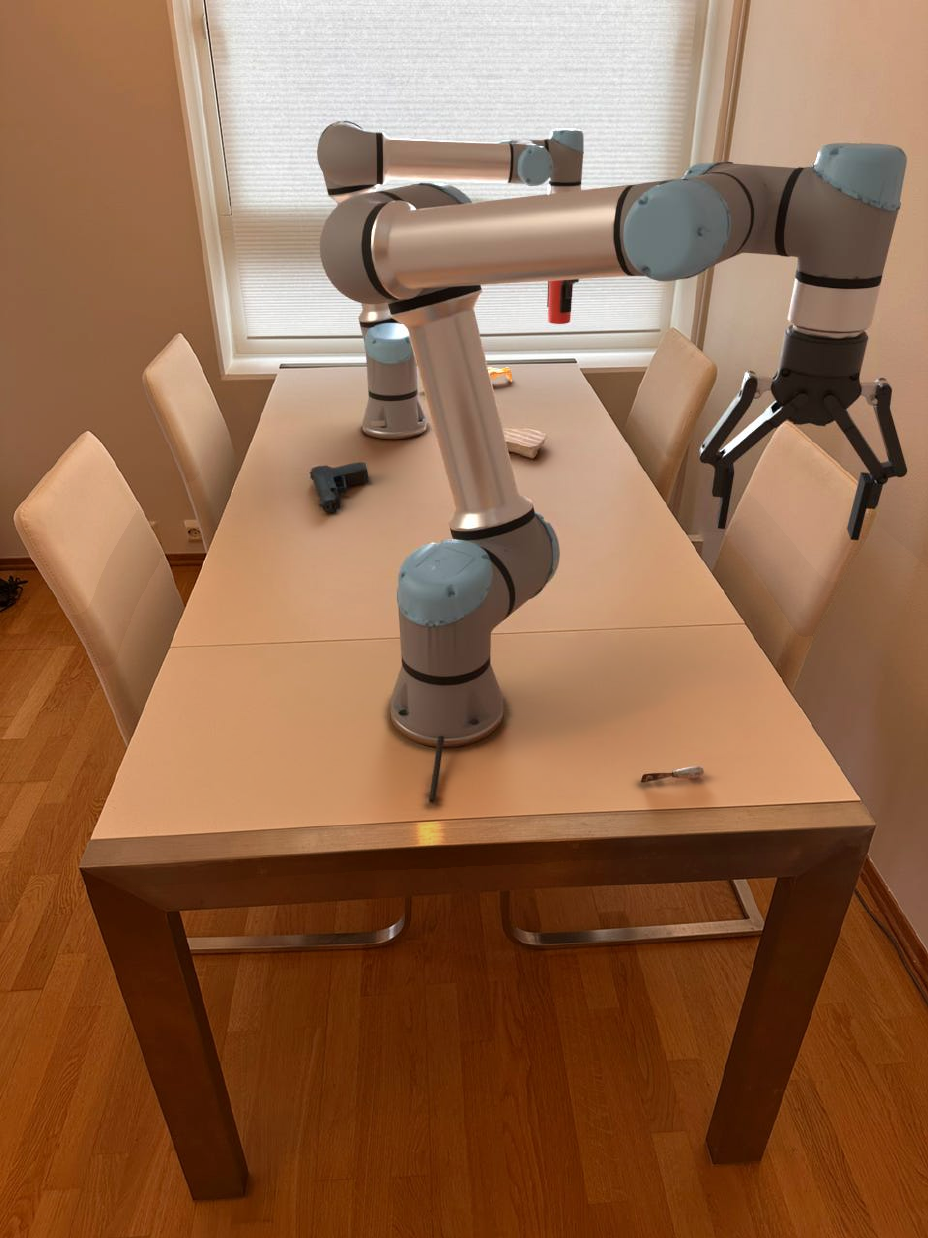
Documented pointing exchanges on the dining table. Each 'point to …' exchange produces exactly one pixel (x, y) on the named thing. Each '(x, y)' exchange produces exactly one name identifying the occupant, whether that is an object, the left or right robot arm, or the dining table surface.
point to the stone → (524, 441)
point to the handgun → (336, 482)
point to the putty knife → (674, 774)
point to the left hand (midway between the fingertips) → (559, 309)
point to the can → (556, 304)
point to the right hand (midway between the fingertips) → (785, 529)
